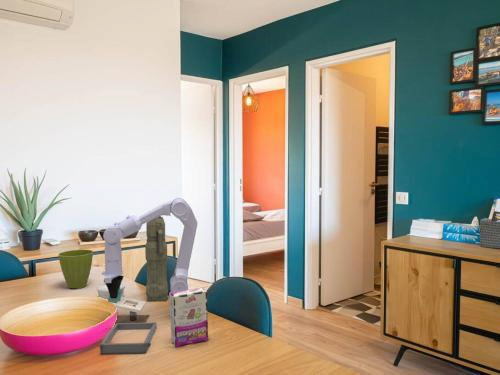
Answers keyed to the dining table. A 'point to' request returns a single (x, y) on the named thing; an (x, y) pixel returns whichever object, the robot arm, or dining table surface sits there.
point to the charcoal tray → (128, 347)
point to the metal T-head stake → (133, 315)
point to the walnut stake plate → (127, 320)
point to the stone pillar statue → (156, 261)
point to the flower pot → (76, 267)
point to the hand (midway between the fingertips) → (114, 297)
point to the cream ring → (122, 300)
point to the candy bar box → (189, 316)
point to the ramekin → (104, 291)
